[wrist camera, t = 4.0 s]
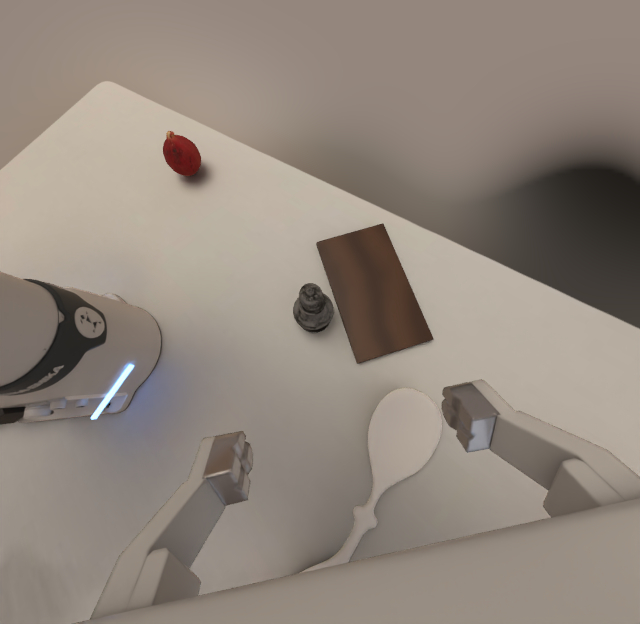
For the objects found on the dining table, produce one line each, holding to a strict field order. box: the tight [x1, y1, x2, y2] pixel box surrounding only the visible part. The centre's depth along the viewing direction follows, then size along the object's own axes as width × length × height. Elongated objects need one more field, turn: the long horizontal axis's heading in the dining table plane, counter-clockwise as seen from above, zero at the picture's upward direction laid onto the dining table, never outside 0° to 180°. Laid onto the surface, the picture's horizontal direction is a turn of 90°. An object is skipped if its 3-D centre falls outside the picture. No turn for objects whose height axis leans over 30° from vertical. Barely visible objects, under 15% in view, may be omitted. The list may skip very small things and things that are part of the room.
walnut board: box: [317, 224, 433, 363], centre depth 40 cm, size 12×21×1 cm, turn 17°
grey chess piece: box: [293, 283, 333, 332], centre depth 34 cm, size 6×6×12 cm
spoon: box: [301, 388, 442, 573], centre depth 31 cm, size 9×32×4 cm, turn 148°
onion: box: [163, 131, 201, 176], centre depth 44 cm, size 6×6×8 cm
